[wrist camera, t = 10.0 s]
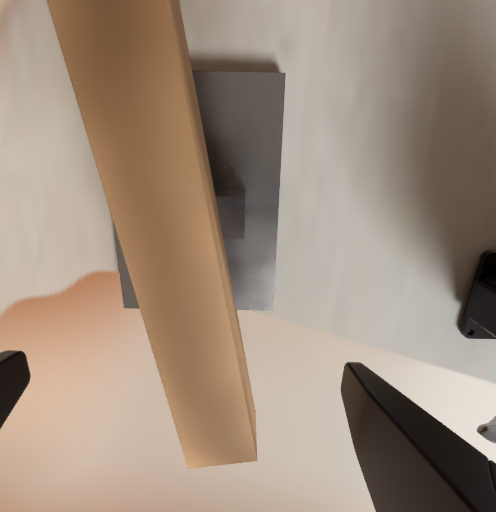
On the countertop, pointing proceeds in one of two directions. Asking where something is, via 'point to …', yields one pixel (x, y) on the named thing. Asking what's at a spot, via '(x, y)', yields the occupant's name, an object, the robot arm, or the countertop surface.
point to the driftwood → (488, 430)
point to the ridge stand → (240, 177)
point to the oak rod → (164, 211)
